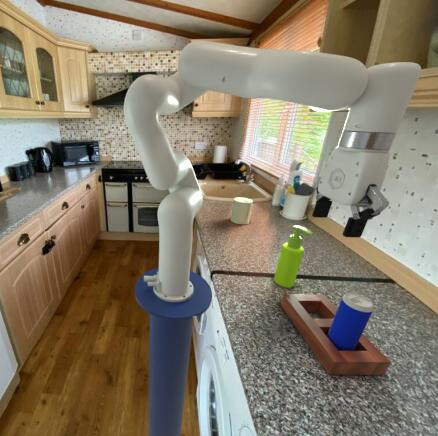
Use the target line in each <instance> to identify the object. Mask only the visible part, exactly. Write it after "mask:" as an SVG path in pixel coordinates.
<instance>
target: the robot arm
mask: <svg viewBox="0 0 438 436" xmlns="http://www.w3.org/2000/svg"><path fill="white" fill-rule="evenodd" d="M421 74H422V67H421V65H420V64H419V63H416V62H411V61H407V62H406V61H398V62H395V61H394V62H387V63H380V64H375V65H372V66H369V67H368V68H367V67H366V66H365V64H364V63H363V62H361V61H360V60H359V59H357V58H353V57H350V56H346V55H340V54H334V53H333V54H332V53H326V52H321V51H320V52H319V51H314V50H313V51H312V50H303V49H278V48H277V49H276V48H256V47H250V46H242V45H235V44H229V43H223V42H218V41H217V42H216V41H209V40H193V41H191V42H189V43H188V44H186V45H185V46H184V47H183V49H182V50H181V51H180V54H179V56H178V60H177V71H176V72H175V73H173V74H172V75H171V76H169V77H164V76H161V75H157V74H151V73H149V74H143V75H140V76H138V77H137V78H136V79H135V80H134V81H133V82H132V83H131V84H130V86H129V88H128V89H127V92H126V94H125V97H124V102H123V117H124V122H125V125H126V127H127V129H128V132H129V134H130V136H131V139H132V141H133V143H134V146H135V149H136V151H137V154H138V157H139V159H140V161H141V164H142V166H143V169H144V172H145V174H146V176H147V179H148V182H149V183H150V185H151V186H152V187H153V188H154V189H156V190H158V191H168V192H169V193H168V195H166V196H165V197H163V199H162V200H161V202H160V203H159V206H158V208H157V222H158V231H159V232H158V236H159V241H158V243H159V244H158V246H159V248H158V268H159V272H157V275H154V276H144V282H148V286H153V290H154V293H155V294H156V295H157V296H158V297H159V298H161V299H162V300H165V301H168V302H182V301H185V300H187V299H189V298H190V297H191V296H192V294H193V285H192V283H191V282H190V281H189V276H190V271H191V265H192V264H191V263H192V255H193V254H192V253H193V243H194V242H193V239H194V231H193V224H194V219H195V217H196V216H197V215H198V213H199V211H201V209H202V207H203V204H204V198H203V197H204V196H203V192H202V190H201V187H200V184H199V181H198V179H197V176H196V173H195V170H194V168H193V166H192V162H191V160H190V159H189V157H188V156H187V155H186V154H185V153H183V152H182V151H179V150H176V149H175V150H173V148H172V146H171V143H170V141H169V138H168V134H167V132H166V131H165V129H164V127H163V125H162V123H161V122H160V119H159V116H170V115H173V114H175V113H177V112H180V110H182V109H184V108H185V107H187V106H188V105H190V104H192V103H193V102H194V101H196V100H197V99H199V98H201V97H202V96H204V95H205V94H207V93H208V92H209V91H211V92H216V93H219V94H225V95H229V96H234V97H238V98H244V99H249V100H250V99H251V100H254V99H269V100H270V99H271V100H277V101H282V102H287V103H293V104H298V105H302V106H307V107H308V108H309V109H311V110H313V111H315V112H319V113H327V112H335V111H347V110H348V113H347V116H346V119H345V123H344V126H343V130H342V132H341V135H340V137H339V141H338V145H337V146H335V147H334V149H333V151H332V152H331V154H330V156H329V158H328V160H327V162H326V165H325V167H324V170H323V171H322V174H321V176H318V177H317V178H316V188H315V191H316V195H315V199H316V202H315V204H314V208H313V211H312V214H311V216H312V217H313V218H319V219H320V218H324V219H325V218H328V216H329V213H330V211H331V208H332V206H333V202H336V203H338V204H340V205H343V206H349V207H350V210H351V215H352V216H349V217H348V219H347V222H346V224H345V226H344V229H343V231H342V237H344V238H361V237H362V235H363V233H364V230H365V228H366V226H367V223H368V221H370V220H372V219H373V218H375V217H377V216H380V215H381V212H383V211H384V210H385V209H386V208H387V207H389V205H390V202H389V200H388V199H387V198H386V197H385V195H384V194H383V193H382V192H381V189H382V186H383V184H384V181H385V178H386V174H387V171H388V167H389V166H388V165H389V162H390V156H391V153H390V150H391V148H392V145H393V143H394V142H395V141H394V140H395V138H396V136H397V133H398V130H399V129H400V126H401V123H402V121H403V119H404V116H405V113H406V111H407V109H408V107H409V104H410V102H411V99H412V97H413V95H414V92H415V89H416V87H417V85H418V82H419V79H420V78H421V77H420V76H421ZM360 208H361V209H362V210H361V209H360Z"/></svg>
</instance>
